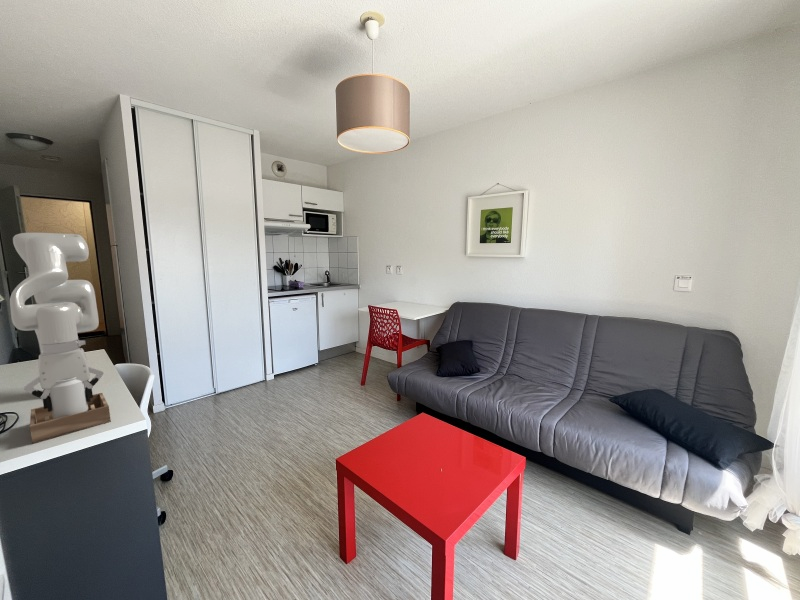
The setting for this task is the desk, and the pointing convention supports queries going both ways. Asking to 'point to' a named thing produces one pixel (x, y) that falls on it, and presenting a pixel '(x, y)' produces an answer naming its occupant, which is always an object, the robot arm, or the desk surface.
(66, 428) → the walnut box
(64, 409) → the can
